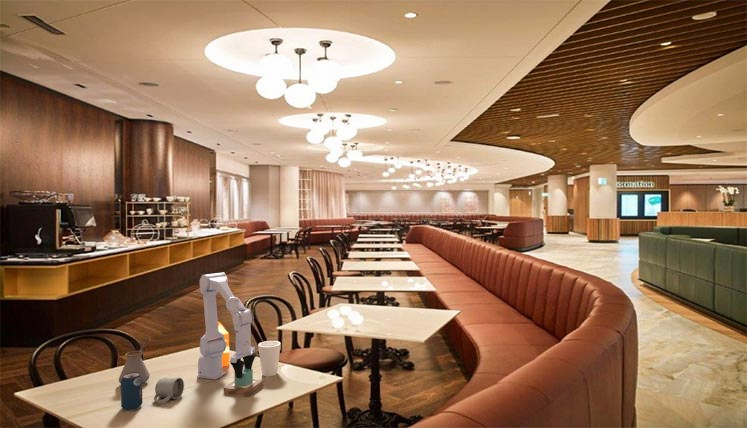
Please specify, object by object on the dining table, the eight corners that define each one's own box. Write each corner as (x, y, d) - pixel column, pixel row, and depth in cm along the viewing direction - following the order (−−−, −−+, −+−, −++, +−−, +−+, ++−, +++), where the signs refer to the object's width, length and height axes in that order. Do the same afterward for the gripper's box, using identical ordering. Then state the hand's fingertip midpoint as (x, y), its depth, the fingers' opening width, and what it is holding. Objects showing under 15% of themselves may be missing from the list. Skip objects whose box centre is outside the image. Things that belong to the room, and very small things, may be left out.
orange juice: (222, 360, 228) (221, 317, 228) (229, 365, 222) (229, 321, 221) (205, 363, 223) (204, 320, 223) (212, 368, 217) (212, 324, 216)
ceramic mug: (166, 392, 190) (165, 373, 189) (184, 394, 188) (184, 374, 188) (148, 404, 179) (147, 383, 179) (167, 406, 178) (167, 385, 177)
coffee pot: (143, 389, 193) (142, 351, 193) (113, 390, 192) (112, 352, 192) (162, 370, 215) (161, 336, 214) (135, 371, 214) (134, 337, 213)
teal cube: (234, 384, 191) (234, 372, 191) (241, 380, 195) (241, 368, 195) (245, 386, 189) (245, 373, 189) (252, 381, 194) (252, 369, 194)
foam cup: (283, 370, 214) (283, 341, 214) (277, 377, 205) (277, 347, 205) (262, 369, 215) (262, 340, 215) (255, 377, 206) (255, 346, 206)
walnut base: (223, 395, 189) (223, 387, 189) (239, 384, 199) (239, 377, 199) (248, 398, 185) (248, 390, 185) (263, 387, 196) (263, 379, 196)
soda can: (145, 407, 176) (145, 374, 176) (125, 413, 171) (125, 379, 171) (137, 401, 181) (137, 370, 181) (118, 407, 176) (117, 375, 176)
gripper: (242, 347, 184) (242, 382, 184) (261, 336, 198) (261, 369, 198) (225, 345, 186) (226, 380, 186) (246, 335, 200) (246, 368, 200)
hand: (243, 375), depth 192 cm, fingers open, 6 cm apart
